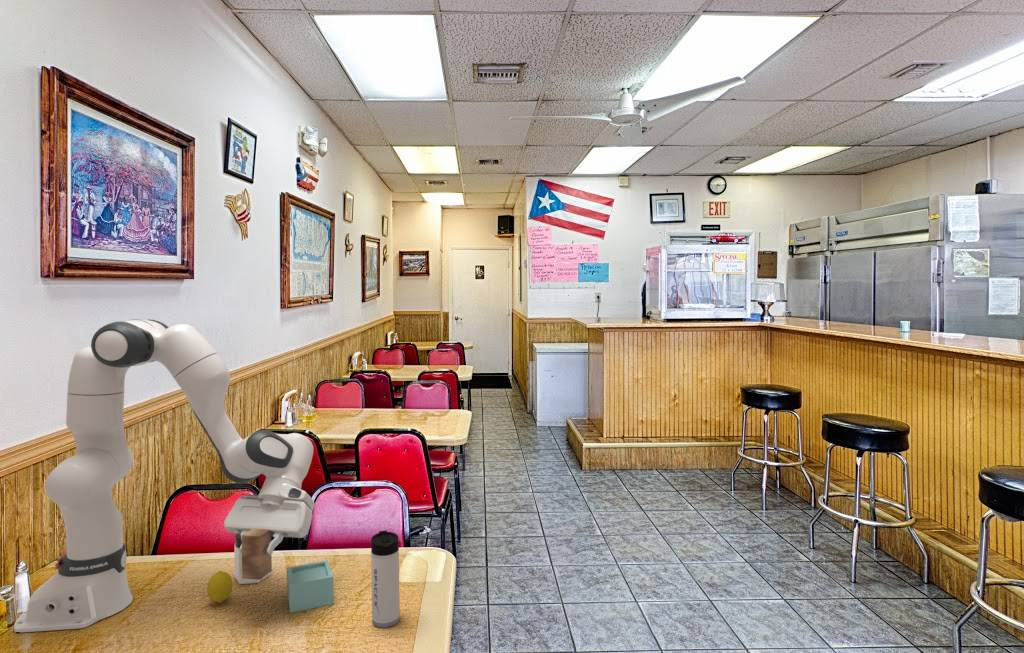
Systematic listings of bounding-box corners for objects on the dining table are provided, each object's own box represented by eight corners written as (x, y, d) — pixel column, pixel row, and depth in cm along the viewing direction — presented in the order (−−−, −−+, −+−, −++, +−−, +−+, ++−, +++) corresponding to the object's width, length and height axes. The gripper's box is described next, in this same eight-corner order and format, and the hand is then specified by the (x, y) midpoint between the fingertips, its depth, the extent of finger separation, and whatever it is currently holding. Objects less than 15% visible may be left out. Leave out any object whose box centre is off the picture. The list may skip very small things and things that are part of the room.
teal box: (290, 614, 136) (289, 585, 135) (287, 594, 145) (286, 567, 144) (333, 604, 140) (333, 576, 140) (328, 586, 149) (328, 560, 149)
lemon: (205, 610, 137) (204, 577, 137) (210, 598, 142) (209, 567, 142) (230, 606, 139) (229, 574, 138) (234, 595, 144) (234, 564, 144)
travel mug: (397, 610, 137) (395, 528, 136) (401, 624, 130) (400, 539, 130) (370, 615, 134) (369, 532, 133) (374, 630, 128) (372, 543, 127)
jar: (273, 578, 153) (272, 534, 152) (241, 588, 148) (240, 542, 147) (263, 566, 160) (262, 524, 159) (232, 575, 155) (231, 532, 154)
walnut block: (242, 578, 130) (241, 535, 129) (254, 569, 134) (253, 527, 134) (260, 579, 129) (259, 536, 129) (271, 570, 134) (271, 528, 133)
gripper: (233, 488, 139) (207, 544, 130) (311, 492, 136) (290, 550, 127) (245, 499, 144) (220, 554, 135) (321, 504, 141) (301, 560, 132)
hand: (255, 552), depth 131 cm, fingers closed on walnut block, 4 cm apart
